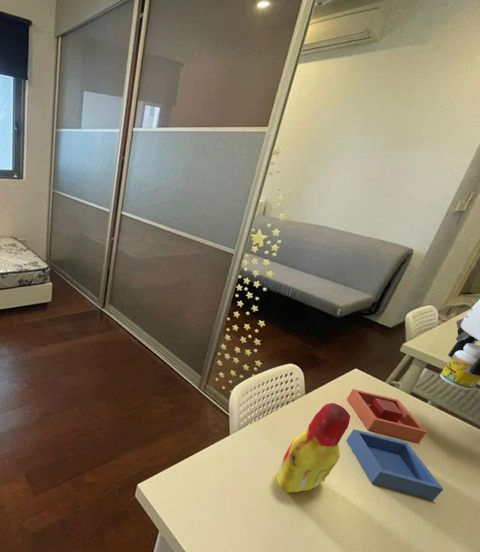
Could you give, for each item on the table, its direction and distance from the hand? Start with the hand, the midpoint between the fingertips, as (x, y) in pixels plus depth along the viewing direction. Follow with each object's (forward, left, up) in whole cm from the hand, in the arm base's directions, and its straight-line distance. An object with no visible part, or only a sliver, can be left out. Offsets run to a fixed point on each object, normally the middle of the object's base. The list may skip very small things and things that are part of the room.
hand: (467, 365), depth 72 cm
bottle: (+37, +27, -20) cm, 50 cm away
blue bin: (+16, +17, -20) cm, 31 cm away
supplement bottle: (0, 0, -5) cm, 5 cm away
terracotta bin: (+9, +1, -20) cm, 22 cm away
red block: (+10, +1, -19) cm, 21 cm away
